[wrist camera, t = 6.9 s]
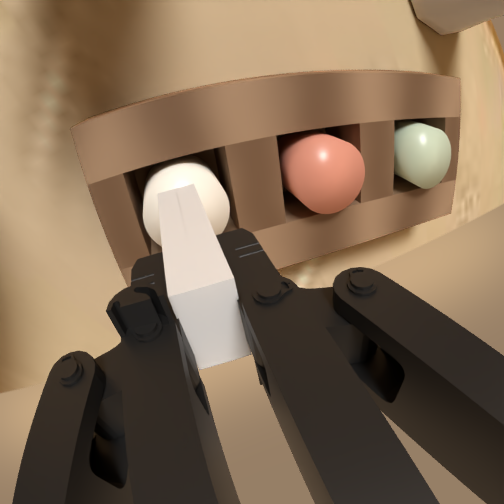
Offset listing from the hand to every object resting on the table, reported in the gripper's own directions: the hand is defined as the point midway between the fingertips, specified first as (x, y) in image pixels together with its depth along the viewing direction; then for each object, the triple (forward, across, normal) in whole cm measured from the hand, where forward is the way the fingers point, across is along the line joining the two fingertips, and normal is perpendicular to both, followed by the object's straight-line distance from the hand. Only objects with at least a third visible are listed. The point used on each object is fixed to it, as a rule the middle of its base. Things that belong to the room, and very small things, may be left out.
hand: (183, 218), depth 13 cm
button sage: (+4, +14, 0) cm, 15 cm away
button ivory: (+4, 0, 0) cm, 4 cm away
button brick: (+4, +7, 0) cm, 8 cm away
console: (+6, +7, 0) cm, 9 cm away
